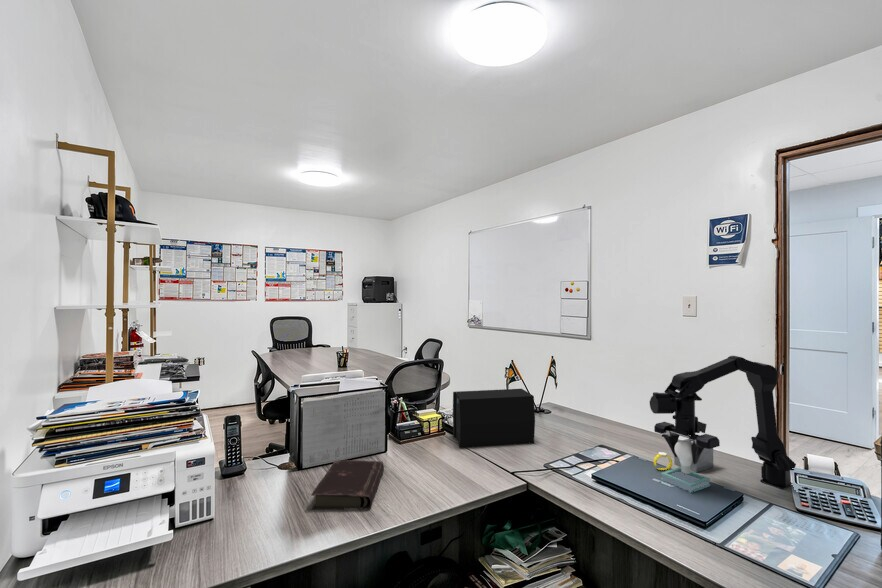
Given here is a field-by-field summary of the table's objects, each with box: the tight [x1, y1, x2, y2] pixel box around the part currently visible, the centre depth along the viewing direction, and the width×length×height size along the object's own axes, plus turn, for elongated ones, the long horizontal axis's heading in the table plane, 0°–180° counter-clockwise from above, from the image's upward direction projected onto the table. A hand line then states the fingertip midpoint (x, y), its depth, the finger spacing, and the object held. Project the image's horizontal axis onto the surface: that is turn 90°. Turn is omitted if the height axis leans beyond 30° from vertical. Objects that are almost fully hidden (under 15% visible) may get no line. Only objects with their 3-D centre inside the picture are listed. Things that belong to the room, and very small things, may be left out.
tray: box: [660, 466, 711, 494], centre depth 134 cm, size 10×10×2 cm
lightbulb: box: [674, 439, 693, 474], centre depth 134 cm, size 6×6×11 cm
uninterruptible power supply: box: [452, 388, 536, 449], centre depth 176 cm, size 16×34×20 cm, turn 99°
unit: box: [673, 438, 714, 474], centre depth 148 cm, size 8×10×9 cm
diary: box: [310, 459, 385, 511], centre depth 131 cm, size 19×25×5 cm
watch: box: [653, 451, 673, 472], centre depth 144 cm, size 6×3×6 cm, turn 90°
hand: (685, 460), depth 134 cm, fingers closed on lightbulb, 6 cm apart
